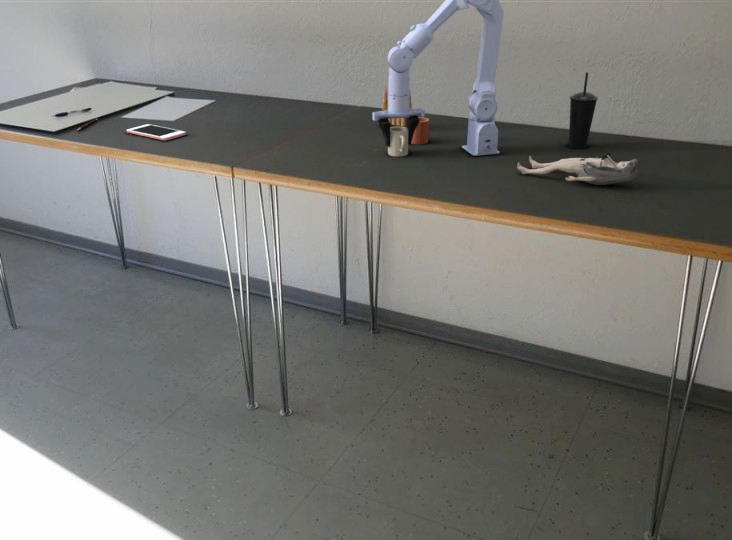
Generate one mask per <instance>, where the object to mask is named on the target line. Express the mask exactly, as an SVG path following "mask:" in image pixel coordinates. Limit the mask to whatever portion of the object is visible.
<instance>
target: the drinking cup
mask: <svg viewBox="0 0 732 540" xmlns="http://www.w3.org/2000/svg"><path fill="white" fill-rule="evenodd" d="M588 78H589V72H585V77H584V85H583V91H579V92H576V93H574V94H570V95H569V100H570V104H569V106H570V107H569V128H568V129H569V131H568V132H569V134H568V138H569V139H568V147H569V148H571V149H585V148H587V145H588V141H589V136H590V132H591V128H592V123H593V118H594V115H595V110H596V106H597V101H598V100H599V96H598V95H595V94H594V93H591V92H588V91H587V89H588V88H587V87H588Z"/></svg>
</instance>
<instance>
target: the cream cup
mask: <svg viewBox="0 0 732 540" xmlns="http://www.w3.org/2000/svg"><path fill="white" fill-rule="evenodd" d="M408 138H409V129H408V128H406V127H391V128H390V146H388V147H387V155H389V156H391V157H406V156H408V155H409V144H408Z"/></svg>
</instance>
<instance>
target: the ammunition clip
mask: <svg viewBox="0 0 732 540" xmlns="http://www.w3.org/2000/svg"><path fill="white" fill-rule="evenodd" d="M387 89H388V88H387V87H386V86H384V88H383V96H382V110H381V111H384V110H388V90H387ZM409 108H413V107H412V92H411V90H410V89H409ZM388 120H389V123H391V126H390V128H391V127H406V128H407V125H406V118H396V119H388Z"/></svg>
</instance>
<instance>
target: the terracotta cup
mask: <svg viewBox="0 0 732 540" xmlns="http://www.w3.org/2000/svg"><path fill="white" fill-rule="evenodd" d="M418 118H419V124H418V125H417V127H416V129H415V132H414V134H413V138H412V142H411V145H425V144H428V143H429V139H430V138H429V136H430V134H429V133H430V119H429V118H428V117H418Z"/></svg>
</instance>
